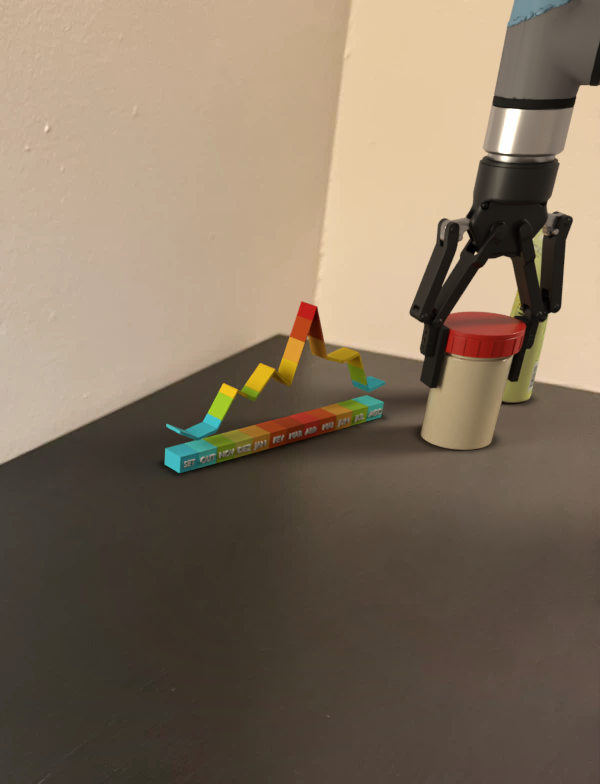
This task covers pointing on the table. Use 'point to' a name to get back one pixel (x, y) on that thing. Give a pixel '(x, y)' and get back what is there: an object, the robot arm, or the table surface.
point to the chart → (282, 428)
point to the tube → (531, 359)
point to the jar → (465, 402)
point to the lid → (484, 334)
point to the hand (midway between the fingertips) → (468, 380)
